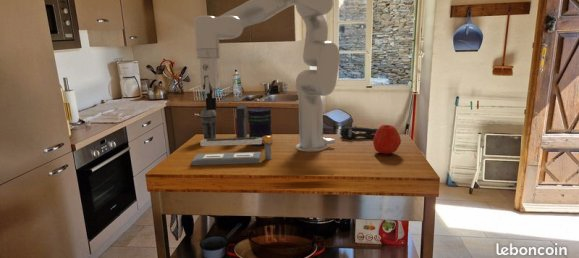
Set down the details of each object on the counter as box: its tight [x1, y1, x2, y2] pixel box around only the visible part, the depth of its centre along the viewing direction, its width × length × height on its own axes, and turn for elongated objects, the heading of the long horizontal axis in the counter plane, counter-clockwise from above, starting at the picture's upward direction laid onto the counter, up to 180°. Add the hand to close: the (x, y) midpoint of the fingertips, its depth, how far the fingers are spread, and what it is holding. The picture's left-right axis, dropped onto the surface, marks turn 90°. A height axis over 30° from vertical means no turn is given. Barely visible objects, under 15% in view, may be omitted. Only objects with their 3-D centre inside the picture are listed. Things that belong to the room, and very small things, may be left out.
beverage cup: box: [199, 107, 218, 139], centre depth 172 cm, size 7×7×20 cm
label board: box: [191, 143, 272, 166], centre depth 144 cm, size 28×10×6 cm, turn 91°
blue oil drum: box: [247, 107, 273, 148], centre depth 166 cm, size 10×10×15 cm
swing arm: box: [199, 135, 273, 147], centre depth 143 cm, size 26×4×2 cm, turn 91°
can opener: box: [340, 125, 378, 140], centre depth 173 cm, size 18×7×6 cm, turn 87°
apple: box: [372, 124, 402, 154], centre depth 149 cm, size 10×10×10 cm
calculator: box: [235, 104, 248, 138], centre depth 176 cm, size 11×4×15 cm, turn 0°
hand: (211, 109), depth 133 cm, fingers closed
